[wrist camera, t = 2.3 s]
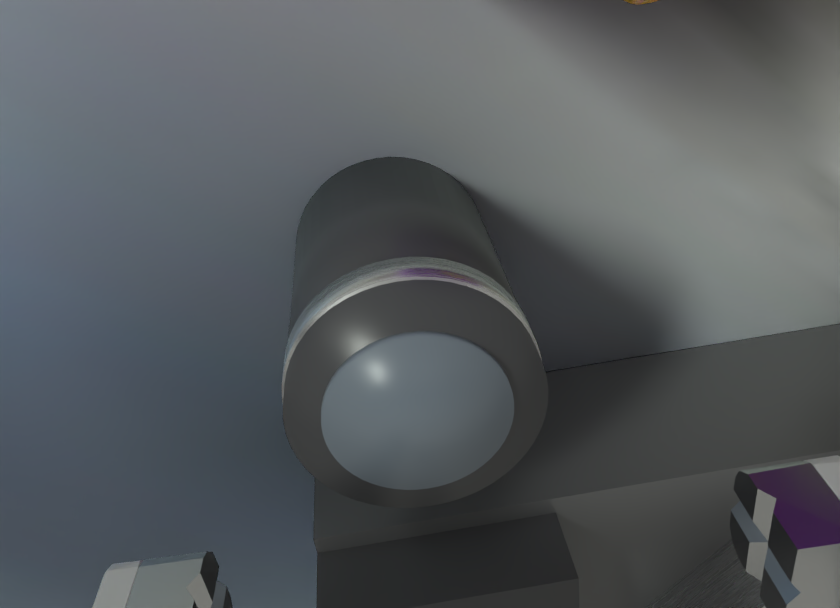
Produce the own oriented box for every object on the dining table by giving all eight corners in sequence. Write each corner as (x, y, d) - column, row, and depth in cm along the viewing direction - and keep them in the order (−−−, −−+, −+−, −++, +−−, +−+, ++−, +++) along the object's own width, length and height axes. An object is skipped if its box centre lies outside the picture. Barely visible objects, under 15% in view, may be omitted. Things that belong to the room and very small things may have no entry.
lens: (315, 340, 21) (310, 535, 15) (275, 171, 19) (249, 326, 12) (491, 311, 21) (557, 493, 15) (476, 140, 19) (549, 277, 13)
